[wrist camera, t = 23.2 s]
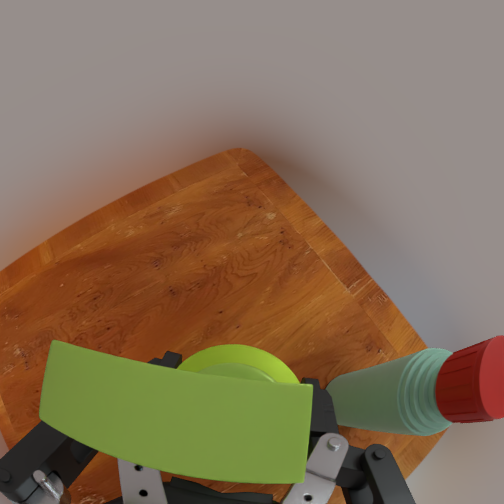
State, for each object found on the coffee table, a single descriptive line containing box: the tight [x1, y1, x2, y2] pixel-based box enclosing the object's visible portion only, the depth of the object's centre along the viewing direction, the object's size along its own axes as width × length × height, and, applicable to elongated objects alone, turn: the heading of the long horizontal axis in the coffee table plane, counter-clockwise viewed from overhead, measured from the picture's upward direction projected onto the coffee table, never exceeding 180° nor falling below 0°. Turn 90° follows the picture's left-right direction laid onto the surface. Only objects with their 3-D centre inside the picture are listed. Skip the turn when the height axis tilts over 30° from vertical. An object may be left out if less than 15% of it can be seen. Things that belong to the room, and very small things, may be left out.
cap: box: [435, 336, 504, 423], centre depth 9 cm, size 4×4×3 cm
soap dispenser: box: [39, 340, 313, 484], centre depth 13 cm, size 6×7×20 cm
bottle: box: [325, 348, 453, 436], centre depth 17 cm, size 6×6×19 cm
